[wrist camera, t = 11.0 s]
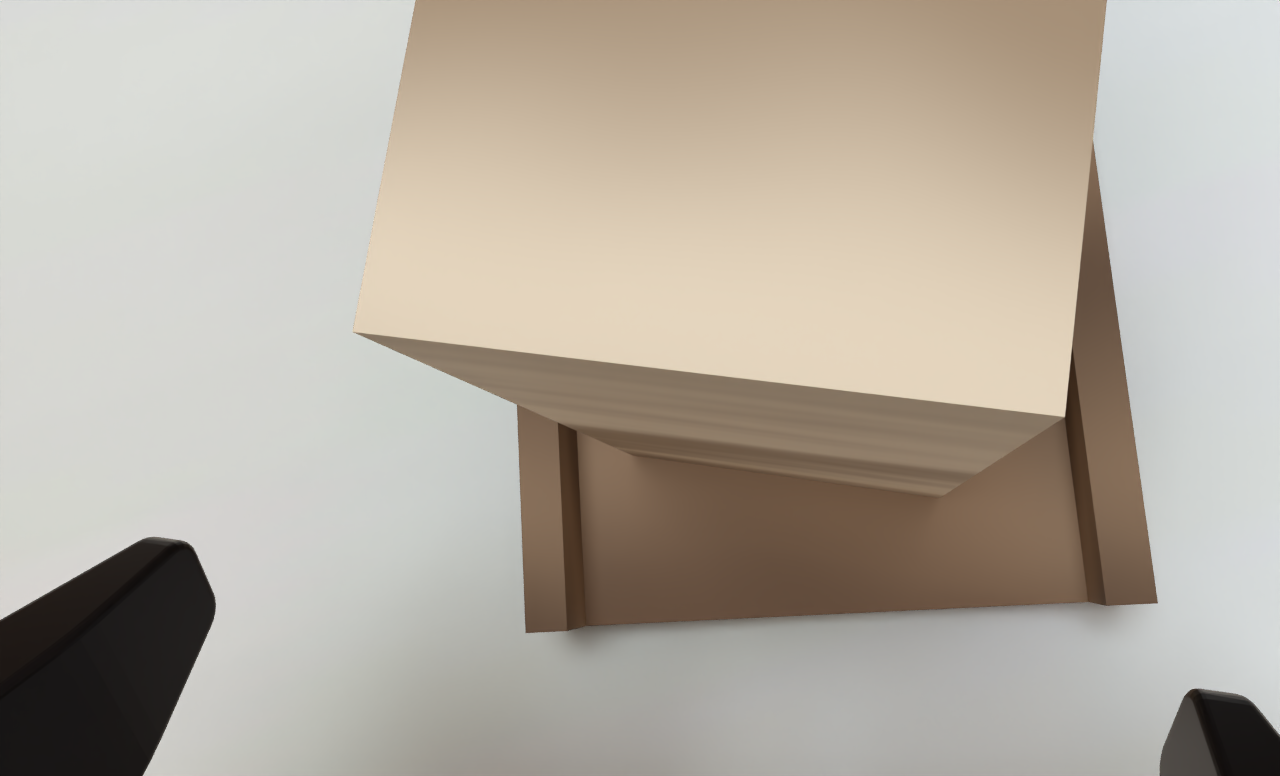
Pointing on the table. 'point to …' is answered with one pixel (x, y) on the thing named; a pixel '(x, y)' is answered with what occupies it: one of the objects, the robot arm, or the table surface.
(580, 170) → the frame block
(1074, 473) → the brown tray
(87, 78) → the table surface
